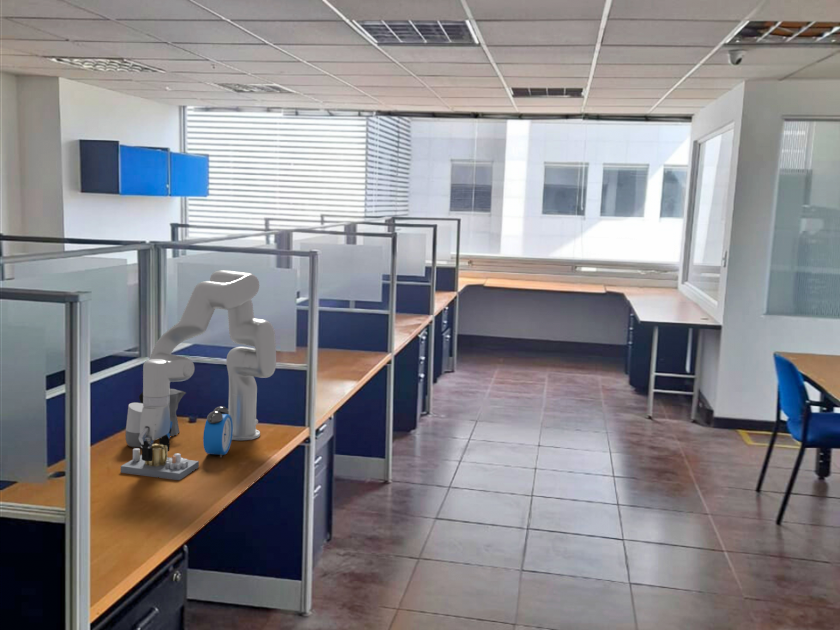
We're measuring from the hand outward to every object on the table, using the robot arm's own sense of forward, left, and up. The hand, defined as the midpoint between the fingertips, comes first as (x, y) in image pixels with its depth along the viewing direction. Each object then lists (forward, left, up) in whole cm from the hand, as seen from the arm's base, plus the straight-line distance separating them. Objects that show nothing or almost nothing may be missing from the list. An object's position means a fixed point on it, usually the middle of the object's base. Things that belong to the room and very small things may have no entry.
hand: (155, 455), depth 237 cm
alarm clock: (-20, +11, -4) cm, 23 cm away
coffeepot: (-33, -16, -4) cm, 37 cm away
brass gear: (0, 0, -2) cm, 2 cm away
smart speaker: (-19, -16, -4) cm, 26 cm away
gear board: (0, +2, -4) cm, 5 cm away
